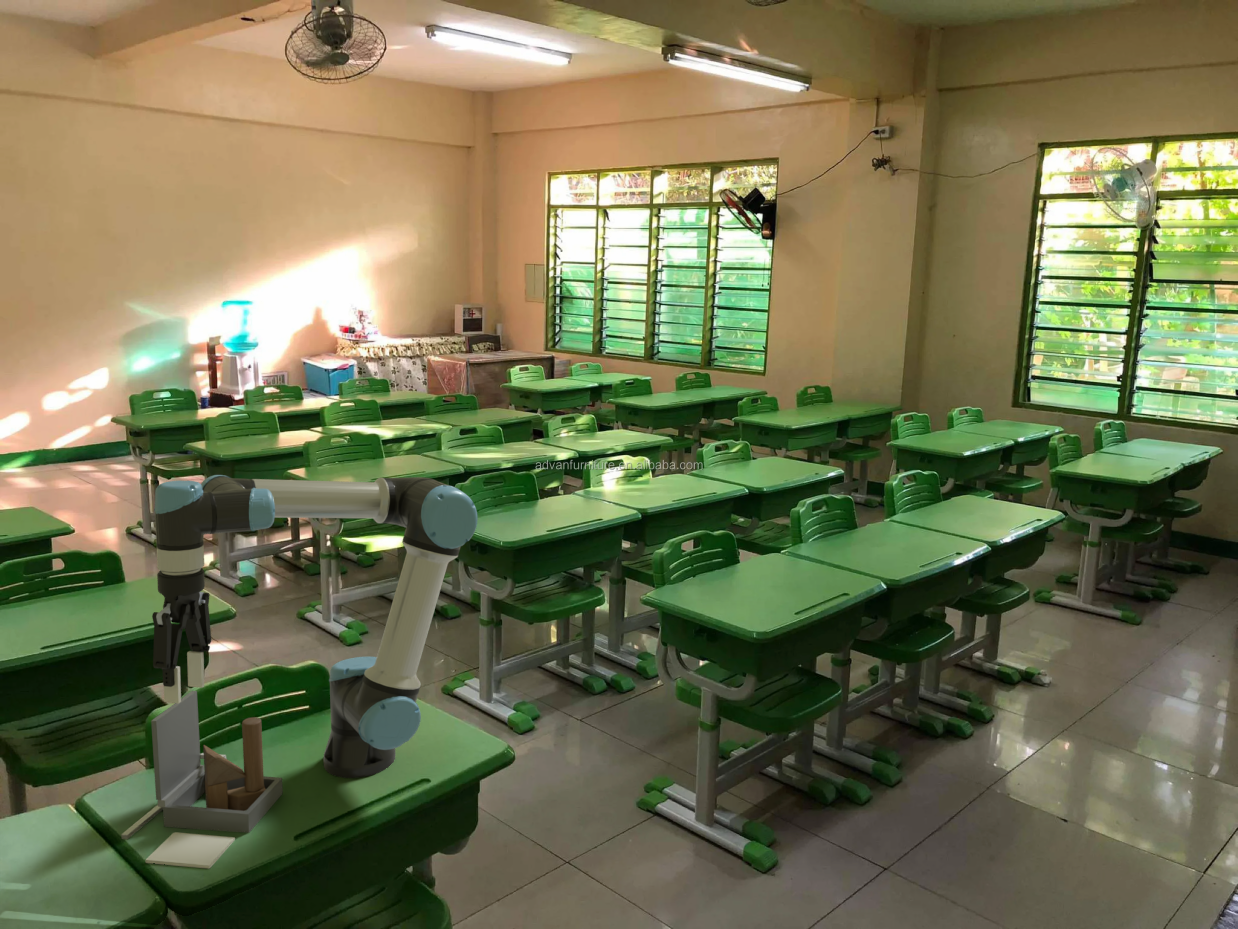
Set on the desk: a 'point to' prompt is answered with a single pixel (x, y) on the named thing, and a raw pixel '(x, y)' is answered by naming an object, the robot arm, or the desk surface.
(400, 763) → the desk surface
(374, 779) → the desk surface
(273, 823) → the desk surface
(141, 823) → the rod
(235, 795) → the wooden toy pieces
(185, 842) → the mat
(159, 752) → the case
